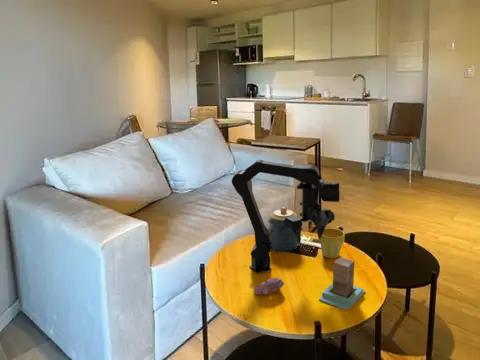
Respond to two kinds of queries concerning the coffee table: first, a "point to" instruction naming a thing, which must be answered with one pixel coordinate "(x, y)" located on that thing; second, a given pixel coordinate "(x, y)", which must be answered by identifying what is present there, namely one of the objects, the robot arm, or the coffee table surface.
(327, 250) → the plant pot
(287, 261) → the coffee table surface
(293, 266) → the coffee table surface
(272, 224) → the canister
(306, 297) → the coffee table surface
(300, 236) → the robot arm
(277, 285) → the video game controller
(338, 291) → the block
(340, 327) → the coffee table surface
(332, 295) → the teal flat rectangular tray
